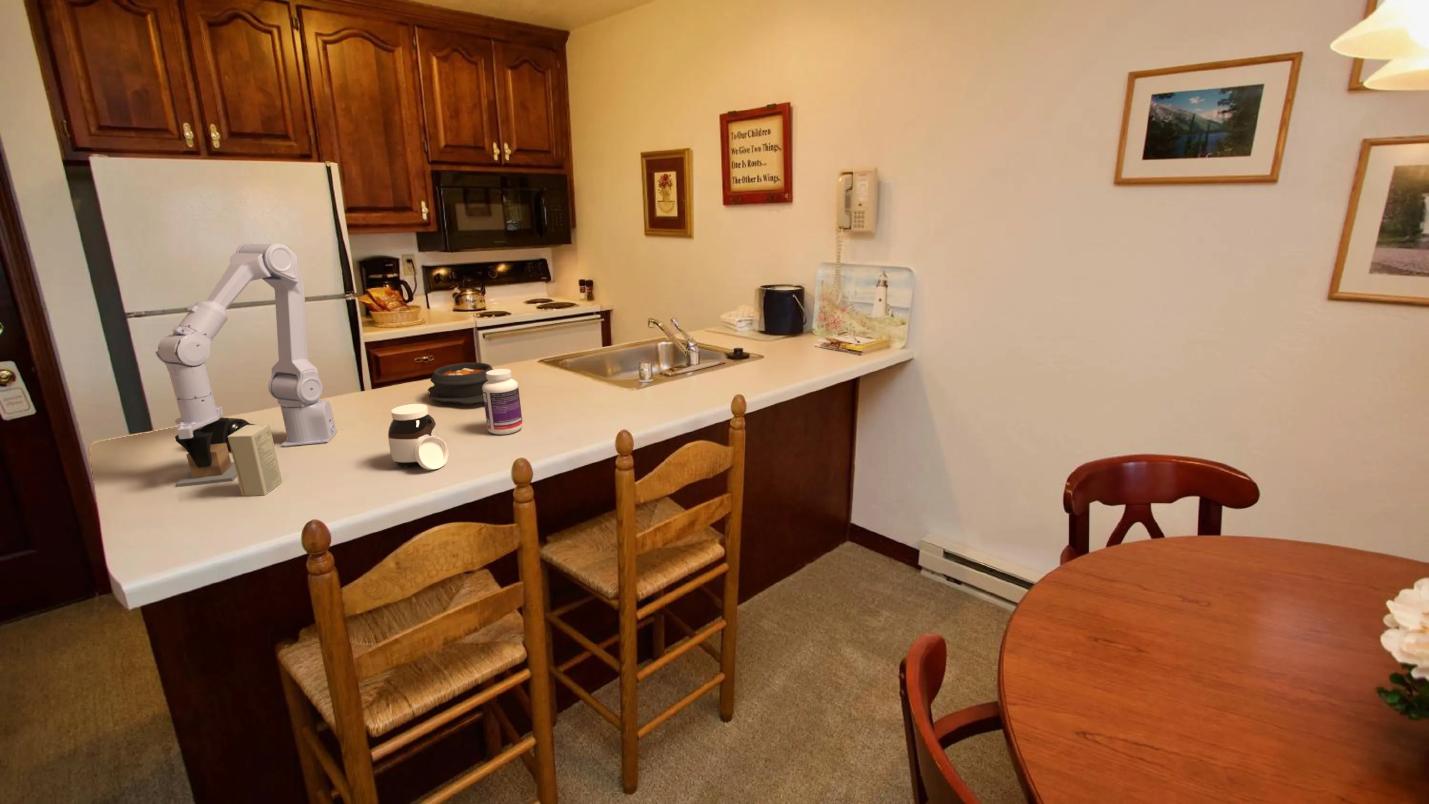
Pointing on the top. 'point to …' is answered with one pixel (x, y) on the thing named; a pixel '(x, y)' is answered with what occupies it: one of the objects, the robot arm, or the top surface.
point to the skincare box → (255, 459)
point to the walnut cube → (218, 463)
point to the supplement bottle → (234, 427)
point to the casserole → (459, 383)
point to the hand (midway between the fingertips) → (211, 460)
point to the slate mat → (208, 478)
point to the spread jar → (415, 438)
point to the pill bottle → (502, 402)
